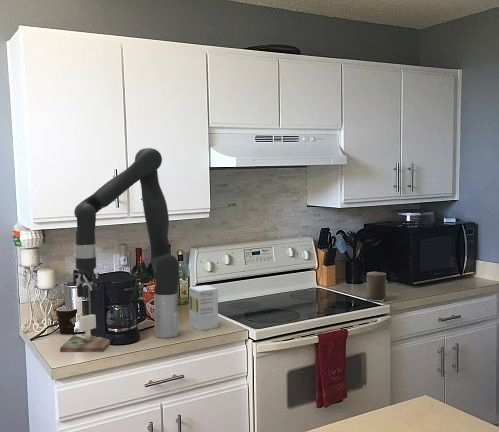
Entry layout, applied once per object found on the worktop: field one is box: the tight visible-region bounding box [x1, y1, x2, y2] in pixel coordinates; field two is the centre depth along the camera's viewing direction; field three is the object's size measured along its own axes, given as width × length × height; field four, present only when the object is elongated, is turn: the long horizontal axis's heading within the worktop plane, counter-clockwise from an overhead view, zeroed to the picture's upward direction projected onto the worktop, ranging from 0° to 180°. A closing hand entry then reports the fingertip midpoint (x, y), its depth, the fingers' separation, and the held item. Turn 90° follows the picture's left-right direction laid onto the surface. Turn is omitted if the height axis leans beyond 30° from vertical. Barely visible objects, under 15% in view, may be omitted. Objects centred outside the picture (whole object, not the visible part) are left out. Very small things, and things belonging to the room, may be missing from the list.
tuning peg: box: [75, 314, 97, 341], centre depth 223 cm, size 8×6×9 cm
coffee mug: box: [56, 305, 77, 335], centre depth 239 cm, size 12×9×10 cm
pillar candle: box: [365, 270, 387, 300], centre depth 292 cm, size 10×10×15 cm
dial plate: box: [59, 334, 111, 353], centre depth 221 cm, size 16×16×2 cm
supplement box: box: [188, 284, 219, 331], centre depth 245 cm, size 10×9×17 cm
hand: (86, 298), depth 220 cm, fingers open, 8 cm apart
